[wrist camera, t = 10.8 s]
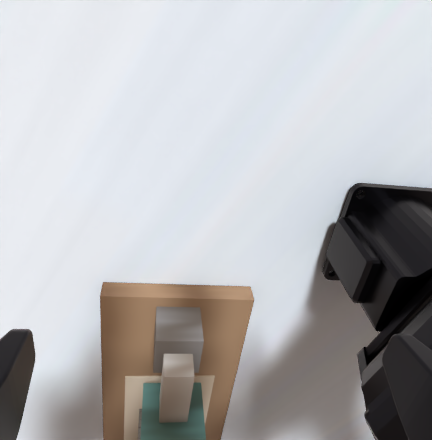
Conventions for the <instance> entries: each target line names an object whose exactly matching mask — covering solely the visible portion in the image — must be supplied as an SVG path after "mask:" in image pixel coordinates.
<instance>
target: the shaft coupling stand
mask: <svg viewBox="0 0 432 440" xmlns="http://www.w3.org/2000/svg"><path fill="white" fill-rule="evenodd" d="M253 302H254V298H253V294H252V290H251V287H244V286H210V285H176V284H143V283H109V282H103V285H102V290H101V295H100V309H101V352H102V395H103V438H104V440H138V423H139V409H142V419H141V437H140V440H220V439H221V435H222V431H223V426H224V422H225V418H226V414H227V410H228V406H229V402H230V397H231V393H232V389H233V385H234V381H235V377H236V373H237V369H238V364H239V360H240V356H241V352H242V348H243V344H244V340H245V335H246V331H247V327H248V323H249V319H250V315H251V311H252V307H253Z"/></svg>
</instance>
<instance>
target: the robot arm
mask: <svg viewBox="0 0 432 440" xmlns="http://www.w3.org/2000/svg"><path fill="white" fill-rule="evenodd" d="M361 190H363V191H362V193H361V194H360V195H357V193H358V192H359V191H361ZM326 256H327V258H326V261H325V264H324V267H323V271H322V272H323V274H324V276H325V278H326V279H328V280H340V281H341V282H342V284H343V286H344V288H345V290H346V291H347V293H348V295H349V297H350V298H351V300H352V301H353V302H354V303H360V305H361V306H362V308H363V310H364V311H365V313H366V315H367V316H368V318H369V320H370V321H371V323H372V325H373V327H374V328H375V330H376V331H381V332H380V333H379V334H378V335H377V337H376V338H375V339H374V340H373V341H372V342H371V343H370V344H369V345H368V346H367V347H364V348H363V349H362V350H361V351H360V352H359V353H358V354H357V356H358V363H359V369H360V375H361V381H362V386H361V387H362V391H363V394H364V399H365V406H366V412H365V419H366V422H367V424H368V426H369V428H370V430H371V431H372V434H373V436H374V438H375V440H432V188H420V187H407V186H394V185H380V184H367V183H357V184H355V185H353V186H352V187H351V189H350V191H349V194H348V197H347V200H346V203H345V205H344V208H343V211H342V214H341V217H340V218H339V219H338V220H337V223H336V225H335V228H334V231H333V234H332V237H331V240H330V243H329V246H328V249H327V252H326ZM333 270H334V271H333ZM330 271H333V272H331V273H329V272H330ZM34 363H35V349H34V342H33V335H32V332H31V330H29V329H13V330H10V331H9V332H8V333H7V334H6V335H5V336H3V337H2V338H1V339H0V440H16V438H17V435H18V432H19V428H20V424H21V420H22V416H23V412H24V407H25V403H26V399H27V394H28V390H29V385H30V381H31V377H32V372H33V368H34Z"/></svg>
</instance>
